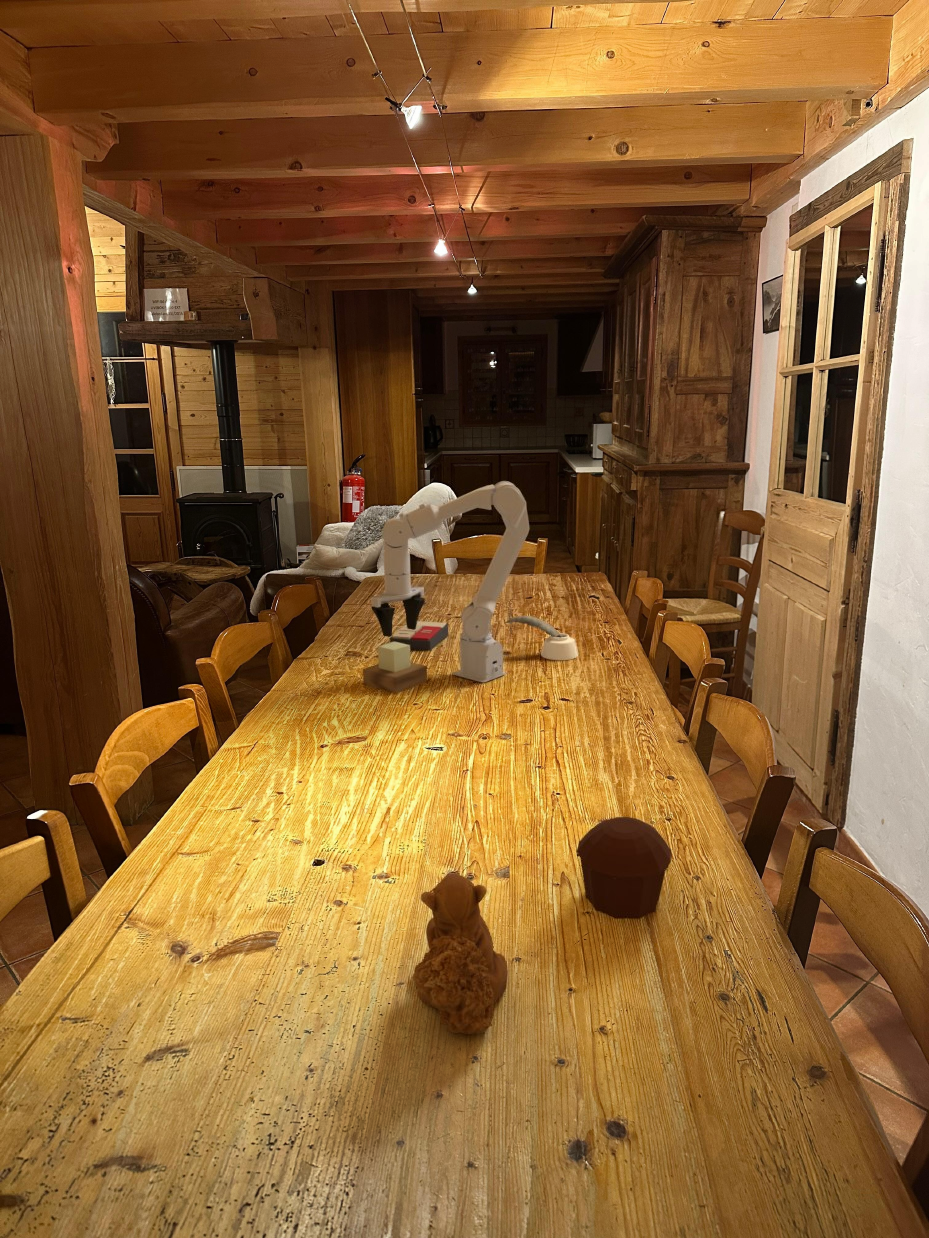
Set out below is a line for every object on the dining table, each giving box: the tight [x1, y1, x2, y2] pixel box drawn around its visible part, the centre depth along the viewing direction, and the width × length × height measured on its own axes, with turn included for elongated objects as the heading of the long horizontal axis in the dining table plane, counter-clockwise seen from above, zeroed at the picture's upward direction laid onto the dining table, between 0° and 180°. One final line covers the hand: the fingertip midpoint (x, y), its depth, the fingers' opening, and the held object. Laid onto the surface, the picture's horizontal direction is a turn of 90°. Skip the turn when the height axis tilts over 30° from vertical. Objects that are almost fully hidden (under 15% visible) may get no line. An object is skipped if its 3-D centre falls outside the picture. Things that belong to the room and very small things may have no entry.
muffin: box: [576, 816, 672, 920], centre depth 102 cm, size 12×11×10 cm
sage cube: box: [377, 642, 412, 672], centre depth 185 cm, size 5×5×5 cm
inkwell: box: [504, 615, 579, 661], centre depth 204 cm, size 9×18×10 cm, turn 90°
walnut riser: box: [362, 662, 428, 694], centre depth 186 cm, size 10×10×4 cm
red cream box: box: [389, 620, 449, 652], centre depth 219 cm, size 11×4×15 cm
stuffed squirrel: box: [411, 873, 509, 1035], centre depth 84 cm, size 10×14×13 cm
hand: (399, 632), depth 188 cm, fingers open, 7 cm apart
